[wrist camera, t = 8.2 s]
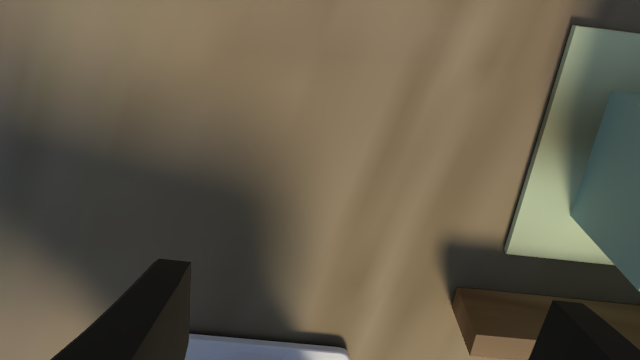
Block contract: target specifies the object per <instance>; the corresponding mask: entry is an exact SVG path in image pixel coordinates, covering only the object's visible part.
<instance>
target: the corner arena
mask: <svg viewBox="0 0 640 360" xmlns="http://www.w3.org/2000/svg"><path fill="white" fill-rule="evenodd" d="M611 91H618V92H627V93H636V94H640V34H639V33H632V32H624V31H616V30H609V29H601V28H594V27H586V26H578V25H572V27H571V31H570V34H569V37H568V41H567V44H566V47H565V51H564V54H563V57H562V60H561V64H560V67H559V70H558V74H557V77H556V80H555V84H554V87H553V90H552V93H551V97H550V100H549V103H548V107H547V110H546V113H545V116H544V120H543V123H542V126H541V130H540V133H539V136H538V140H537V143H536V146H535V149H534V153H533V156H532V159H531V163H530V166H529V169H528V173H527V176H526V179H525V182H524V186H523V189H522V192H521V196H520V199H519V202H518V206H517V209H516V212H515V215H514V219H513V222H512V225H511V229H510V232H509V235H508V239H507V242H506V245H505V248H504V251H505V253H506V254H511V255H521V256H531V257H540V258H550V259H560V260H569V261H579V262H589V263H599V264H608V265H614V264H613V263H612V261H611V260H610V259H609V258H608V257H607V256H606V255H605V254H604V253H603V251H602V250H601V249H600V248H599V247H598V246H597V245H596V244H595V243H594V242H593V240H592V239H591V238H590V237H589V236H588V235H587V234H586V233H585V232H584V230H583V229H582V228H581V227H580V226H579V225H578V224H577V223H576V222H575V221H574V219H573V218H572V217H571V216H570V214H571V211H572V208H573V205H574V202H575V199H576V196H577V193H578V190H579V187H580V184H581V181H582V178H583V175H584V172H585V169H586V166H587V163H588V160H589V157H590V154H591V151H592V148H593V145H594V142H595V139H596V136H597V133H598V130H599V127H600V124H601V121H602V118H603V115H604V112H605V109H606V106H607V103H608V100H609V97H610V94H611ZM552 300H557V301H567V302H577V303H583V304H584V305H586V306H587V307H588V308H590V309H591V310H592V311H594V312H595V313H596V314H597V315H599V316H600V317H601V318H602V319H604V320H605V321H606V322H607V323H608V324H610V325H611V326H612V327H613V328H614V329H616V330H617V331H618V332H619V333H620V334H622V335H623V336H624V337H625V338H626V339H628V340H629V341H630V342H631V343H632V344H633V345H635V346H636V347H637V348H638V349H639V350H640V305H632V304H622V303H611V302H601V301H591V300H581V299H571V298H561V297H551V296H541V295H530V294H520V293H510V292H500V291H490V290H480V289H470V288H459V287H457V289H456V293H455V296H454V300H453V304H452V309H453V312H454V314H455V317H456V320H457V322H458V325H459V328H460V330H461V333H462V336H463V338H464V341H465V344H466V346H467V349H468V352H469V355H470V356H479V357H490V358H502V359H513V360H528V359H529V357H530V354H531V352H532V350H533V347H534V345H535V342H536V340H537V337H538V335H539V332H540V330H541V327H542V325H543V323H544V320H545V318H546V315H547V313H548V310H549V308H550V305H551V303H552Z"/></svg>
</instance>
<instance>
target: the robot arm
mask: <svg viewBox="0 0 640 360" xmlns="http://www.w3.org/2000/svg"><path fill="white" fill-rule="evenodd" d="M190 276H191V262H184V261H175V260H165V259H158V260H157V261H156V262H154V263H153V264H152V265H151V266H150V267H149V268H148V269H147V270H146V271H145V272H144V273H143V275H142V276H141V277H140V278H139V279H138V280H137V281H136V282H135V283H134V284H133V285H132V286H131V287H130V288H129V289H128V290H127V291H126V292H125V293H124V294H123V295H122V296H121V297H120V298H119V299H118V300H117V301H116V302H115V303H114V304H113V305H112V306H111V307H110V308H109V309H107V310H106V311H105V312H104V313H103V314H102V315H101V316H100V317H99V318H98V319H97V320H96V321H95V322H94V323H92V324H91V325H90V326H89V327H88V328H87V329H86V330H85V331H84V332H83V333H81V334H80V335H79V336H78V337H77V338H76V339H74V340H73V341H72V342H71V343H70V344H68V345H67V346H66V347H65V348H64V349H63V350H61V351H60V352H59V353H58V354H57V355H55V356H54V357H53V358H52V359H51V360H349V353H348V352H347V350H345V349H344V348H340V347H331V346H320V345H309V344H298V343H287V342H276V341H265V340H254V339H242V338H231V337H220V336H209V335H198V334H189V317H190ZM528 360H640V350H639V349H638V348H637V347H636V346H635V345H633V344H632V343H631V342H630V341H629V340H628V339H626V338H625V337H624V336H623V335H622V334H620V333H619V332H618V331H617V330H616V329H614V328H613V327H612V326H611V325H610V324H608V323H607V322H606V321H605V320H604V319H602V318H601V317H600V316H599V315H597V314H596V313H595V312H594V311H592V310H591V309H590V308H588V307H587V306H586V305H584V304H583V303H577V302H567V301H557V300H552V303H551V305H550V308H549V310H548V313H547V315H546V318H545V320H544V323H543V325H542V327H541V330H540V332H539V335H538V337H537V340H536V342H535V345H534V347H533V350H532V352H531V354H530V357H529V359H528Z"/></svg>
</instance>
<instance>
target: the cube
mask: <svg viewBox="0 0 640 360" xmlns="http://www.w3.org/2000/svg"><path fill="white" fill-rule="evenodd" d="M570 216H571V217H572V218H573V219H574V221H575V222H576V223H577V224H578V225H579V226H580V227H581V228H582V229H583V230H584V232H585V233H586V234H587V235H588V236H589V237H590V238H591V239H592V240H593V242H594V243H595V244H596V245H597V246H598V247H599V248H600V249H601V250H602V251H603V253H604V254H605V255H606V256H607V257H608V258H609V259H610V260H611V261H612V263H613V264H614V265H615V266H616V267H617V268H618V269H619V270H620V271H621V272H622V274H623V275H624V276H625V277H626V278H627V279H628V280H629V281H630V282H631V284H632V285H633V286H634V287H635V288H636V289H637V290H638V291H640V94H636V93H627V92H618V91H611V94H610V97H609V100H608V103H607V106H606V109H605V112H604V115H603V118H602V121H601V124H600V127H599V130H598V133H597V136H596V139H595V142H594V145H593V148H592V151H591V154H590V157H589V160H588V163H587V166H586V169H585V172H584V175H583V178H582V181H581V184H580V187H579V190H578V193H577V196H576V199H575V202H574V205H573V208H572V211H571V214H570Z"/></svg>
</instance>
